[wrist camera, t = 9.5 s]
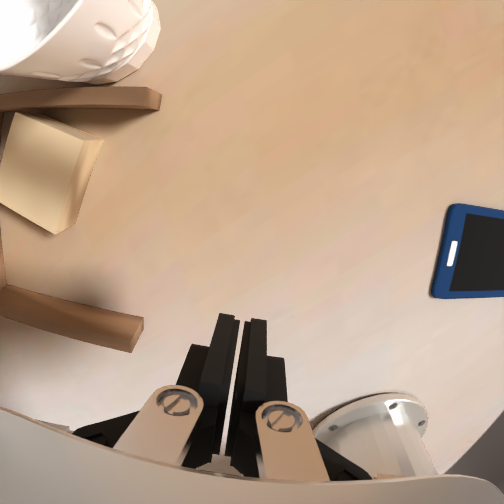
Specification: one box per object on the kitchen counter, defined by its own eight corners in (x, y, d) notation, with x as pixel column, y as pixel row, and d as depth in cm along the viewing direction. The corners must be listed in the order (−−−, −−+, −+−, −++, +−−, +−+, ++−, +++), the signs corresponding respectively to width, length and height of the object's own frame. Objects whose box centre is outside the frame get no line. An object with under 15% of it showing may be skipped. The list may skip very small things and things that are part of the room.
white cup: (57, 101, 17) (-52, 94, 8) (68, 1, 14) (-18, -48, 5) (167, 86, 17) (91, 43, 8) (175, -22, 14) (127, -111, 5)
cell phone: (446, 200, 20) (451, 202, 19) (550, 219, 20) (555, 221, 19) (426, 295, 22) (430, 299, 21) (531, 292, 22) (535, 295, 22)
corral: (143, 329, 22) (131, 352, 20) (0, 292, 22) (-19, 308, 19) (161, 94, 17) (146, 87, 14) (-4, 100, 16) (-29, 99, 14)
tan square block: (77, 222, 20) (55, 234, 17) (18, 190, 19) (-7, 198, 16) (105, 139, 18) (83, 140, 15) (40, 112, 17) (15, 112, 15)
